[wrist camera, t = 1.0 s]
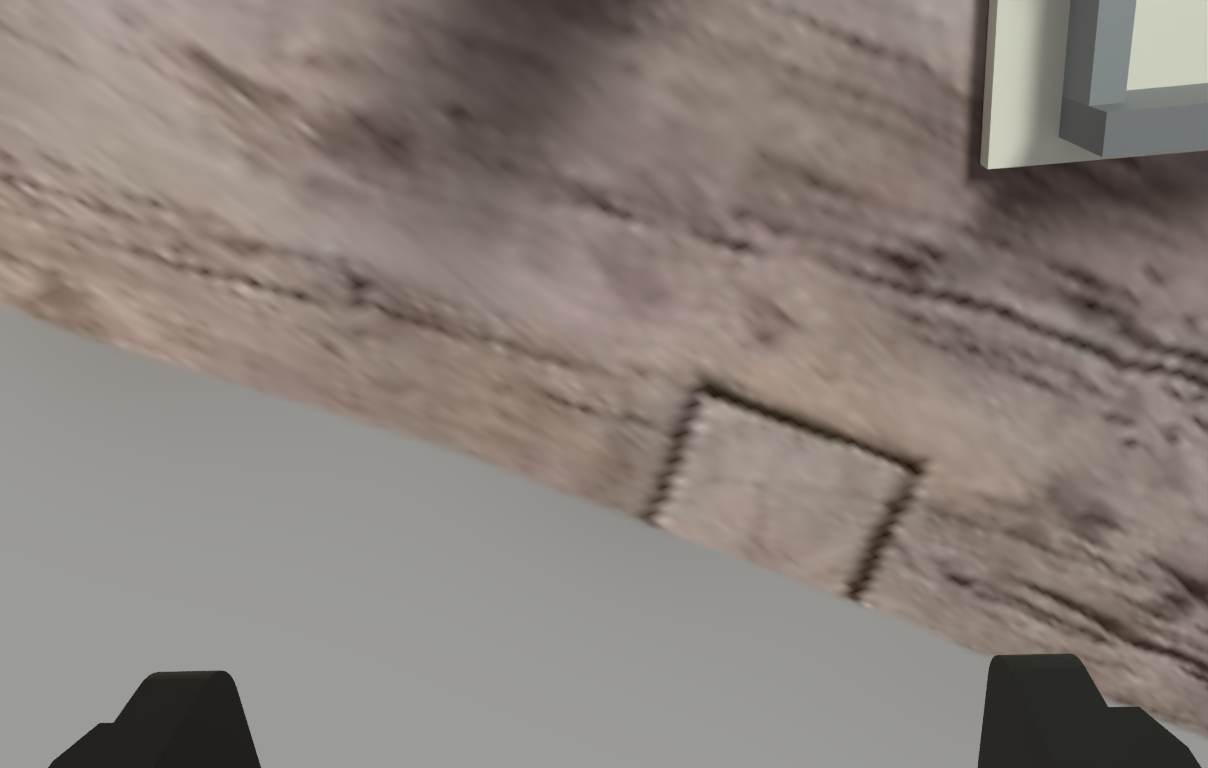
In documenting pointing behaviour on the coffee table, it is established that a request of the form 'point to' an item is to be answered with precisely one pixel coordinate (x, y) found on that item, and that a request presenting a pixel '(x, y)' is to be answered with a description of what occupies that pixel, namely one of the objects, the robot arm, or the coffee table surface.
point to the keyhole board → (1094, 80)
